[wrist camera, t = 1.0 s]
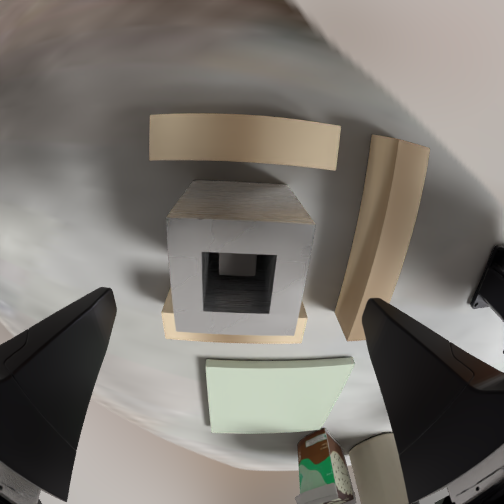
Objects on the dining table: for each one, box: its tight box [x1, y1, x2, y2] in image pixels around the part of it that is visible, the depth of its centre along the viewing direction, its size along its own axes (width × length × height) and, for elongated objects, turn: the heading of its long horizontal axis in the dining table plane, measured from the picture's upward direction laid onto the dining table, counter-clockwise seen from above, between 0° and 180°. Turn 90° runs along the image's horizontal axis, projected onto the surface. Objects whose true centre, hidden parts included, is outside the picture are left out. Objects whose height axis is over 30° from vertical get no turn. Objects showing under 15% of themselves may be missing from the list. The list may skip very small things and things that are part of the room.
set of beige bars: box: [149, 113, 430, 344], centre depth 14 cm, size 13×12×4 cm
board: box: [206, 357, 355, 434], centre depth 23 cm, size 12×12×1 cm
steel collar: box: [166, 180, 316, 336], centre depth 13 cm, size 5×5×6 cm
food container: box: [295, 428, 356, 504], centre depth 25 cm, size 12×6×10 cm, turn 28°
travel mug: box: [349, 433, 419, 504], centre depth 24 cm, size 8×8×18 cm
